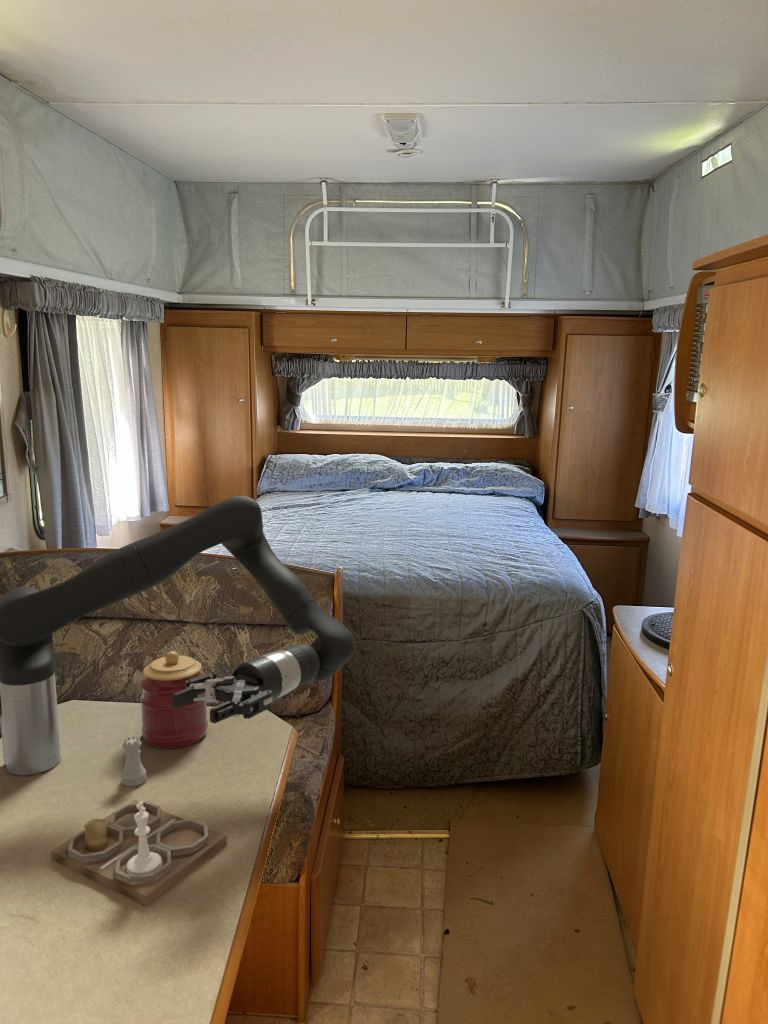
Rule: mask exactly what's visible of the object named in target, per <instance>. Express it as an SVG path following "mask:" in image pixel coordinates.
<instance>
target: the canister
mask: <svg viewBox="0 0 768 1024" xmlns="http://www.w3.org/2000/svg"><path fill="white" fill-rule="evenodd" d="M166 653H167V654H166V655H165V656H162V657H160V658H157V659H155V660H153V661H152V662H151V663H150V664H148V665H146V666H145V667H144V668H143V670H142V673H143V677H141V678H140V680H139V683H138V684H139V687H140V689H141V690H142V691H141V692H142V693H141V695H140V698H139V700H140V704H141V706H140V707H141V710H140V711H141V727H140V728H141V736H142V739H143V741H144V743H146V744H147V745H149V746H150V747H154V748H159V749H176V748H184V747H187V746H189V745H192V744H195V743H197V742H199V741H200V739H201V740H202V739H203V738H204V737H205V736H206V735H207V734H208V727H209V719H208V713H207V712H208V711H207V702H206V701H205V700H200V701H194V702H192V703H189V704H187V705H184V706H182V707H179V708H174V707H172V695H173V694H174V693H177V692H180V691H182V690H185V681H187V680H189V679H192V678H195V677H198V676H201V675H204V674H206V673H205V672H204V671H202V668H203V667H202V664H201V662H200V661H198V660H196V659H194V658H193V657H190V656H186V655H179V653H178V652H177V651H174V650H172V651H168V652H166ZM203 694H205V692H203V693H200V694H198V695H203Z"/></svg>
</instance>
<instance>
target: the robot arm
mask: <svg viewBox="0 0 768 1024" xmlns="http://www.w3.org/2000/svg"><path fill="white" fill-rule="evenodd" d="M262 512H263V511H262V509H261V507H260V504H259V503H258V502H257V501H256V499H253V498H251V497H250V496H245V495H236V496H231V497H228V498H225V499H223V500H221V501H219V502H217V503H215V504H214V505H212V506H210V507H208V508H207V509H204V510H203V511H201V512H199V513H197V514H195V515H194V516H192V517H190V518H188V519H186V520H184V521H182V522H179V523H177V524H174V525H172V526H170V527H167V528H165V529H162V530H160V531H158V532H155V533H154V534H151V535H149V536H147V537H144V538H142V539H139V540H136V541H134V542H131V543H129V544H126V545H124V546H121V547H119V548H117V549H115V550H112V551H111V552H109V553H106V554H105V555H103V556H102V557H100V558H98V559H97V560H96V561H94V562H92V563H90V564H89V565H88V566H86V567H85V568H84V569H83V570H80V571H79V572H78V573H77V574H75V575H73V576H72V577H69V578H68V579H66V580H64V581H62V582H60V583H57V584H55V585H53V586H52V585H51V586H50V587H47V588H44V589H41V590H38V589H37V588H34V587H30V586H18V587H15V588H12V589H10V590H9V591H7V592H5V593H4V594H3V595H2V596H1V597H0V704H1V705H0V706H1V715H0V732H1V744H2V745H1V746H2V756H3V757H2V758H3V764H4V765H5V767H6V771H7V772H8V773H9V774H11V775H14V776H30V775H36V774H41V773H43V772H46V771H49V770H51V769H53V768H54V767H56V766H57V765H58V764H59V763H60V761H61V759H62V757H61V743H60V729H59V715H58V714H59V712H58V710H59V709H58V701H57V700H58V698H57V686H56V671H55V653H54V652H55V649H54V639H53V634H54V633H55V632H57V631H59V630H60V629H62V628H64V627H65V626H67V625H70V624H71V623H73V622H75V621H76V620H79V619H80V618H82V617H84V616H86V615H89V614H91V613H94V612H97V611H101V610H103V609H105V608H107V607H110V606H112V605H114V604H117V603H120V602H121V601H124V600H126V599H128V598H131V597H133V596H136V595H138V594H141V593H143V592H145V591H147V590H150V589H152V588H154V587H156V586H158V585H160V584H162V583H164V582H165V581H167V580H168V579H169V578H171V577H172V576H173V575H174V574H176V573H177V572H178V571H179V570H181V569H182V568H183V567H184V566H185V565H186V564H188V563H189V561H191V560H192V559H193V558H195V557H197V555H199V554H201V553H202V552H204V551H206V550H209V549H211V548H213V547H216V546H218V545H222V546H223V547H224V548H225V549H226V550H227V551H228V552H229V554H231V555H232V556H233V557H234V558H235V559H236V560H237V561H238V562H239V563H240V564H241V565H242V566H243V567H244V568H245V569H246V570H247V571H248V572H249V574H250V575H251V576H252V577H253V578H254V580H255V581H256V582H257V584H258V585H259V586H260V588H261V589H262V590H263V592H264V593H265V595H266V596H267V598H268V599H269V601H270V602H271V604H272V605H273V606H274V608H275V609H276V610H277V612H278V613H279V615H280V616H281V618H282V619H283V621H284V622H285V624H286V625H287V626H288V628H289V629H290V631H292V633H294V634H295V635H305V634H307V633H308V632H310V631H312V632H314V634H316V635H317V637H315V640H314V641H312V643H311V644H310V645H308V644H305V643H298V644H293V645H291V646H289V647H286V648H283V649H281V650H280V649H279V650H275V651H271V652H268V653H266V654H262V655H261V656H258V657H255V658H252V659H249V660H247V661H245V662H242V663H239V665H238V666H237V667H236V668H235V669H234V670H233V672H232V674H231V675H227V676H223V677H221V678H219V677H218V676H217V675H218V673H217V672H216V671H212V672H211V671H210V672H208V673H205V674H204V675H201V676H198V677H195V678H192V679H189V680H187V681H185V690H182V691H180V692H177V693H174V694H173V695H172V707H174V708H179V707H182V706H184V705H187V704H189V703H192V702H194V701H200V700H205V701H206V704H207V703H219V702H221V703H220V704H218V705H215V706H214V707H211V708H210V709H209V722H210V723H213V724H217V723H220V722H221V721H223V720H227V719H228V718H231V717H233V718H239V717H240V715H241V716H242V717H243V719H245V720H246V719H247V720H248V719H251V718H254V717H255V716H257V715H259V714H261V713H263V712H265V711H267V710H268V709H270V708H272V707H273V701H274V700H276V699H278V698H279V699H280V698H281V697H283V696H285V695H288V694H289V693H291V691H293V690H295V689H297V688H299V687H301V686H303V685H304V686H305V684H308V683H317V682H322V681H325V680H327V679H329V678H331V677H333V676H334V675H335V674H337V672H339V670H340V669H341V668H342V667H343V666H344V665H345V664H346V663H347V662H348V661H349V660H350V659H351V658H352V656H354V654H355V652H356V648H357V647H356V641H355V638H354V636H353V633H352V632H351V631H350V629H348V627H346V626H345V625H344V624H343V623H341V622H340V621H339V620H338V619H337V618H335V617H334V616H333V615H331V614H330V613H329V612H328V611H326V610H325V609H324V608H323V607H322V606H321V605H320V604H319V603H318V601H317V600H316V598H315V597H314V595H313V594H312V593H311V591H310V590H309V589H308V588H307V586H306V585H305V584H304V583H303V581H301V580H302V579H300V578H299V577H298V576H297V575H296V574H295V573H294V572H292V570H290V569H289V568H288V567H287V566H286V565H284V563H283V561H281V560H280V559H279V558H278V556H277V554H275V553H274V551H273V549H272V548H271V546H270V544H269V541H268V539H267V537H266V536H265V534H264V531H263V530H264V525H263V514H262ZM211 691H214V695H211ZM203 692H205V694H203V695H198V694H200V693H203Z"/></svg>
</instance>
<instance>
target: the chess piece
mask: <svg viewBox="0 0 768 1024" xmlns="http://www.w3.org/2000/svg"><path fill="white" fill-rule="evenodd" d="M143 802H144V801H142V800H141V801H139V804H137V805H136V808H137V809H139V812H138V813H136V814H135V816H134V819H135V821H136V823H137V826H138V828H136V829H135V832H134V833H135V835H137V836H139V845H138V854H137V855H135V856H133V857H132V858H131V859H130V860H129V861H128V863H127V868H126V872H127V873H128V875H130V876H132V877H133V876H139V875H146V874H152V873H154V872H155V871H157V870H158V869H160V868H161V866H162V859H161V856H160V855H159V854H157V853H154V852H149V847H148V842H147V836H146V834H148V833H149V832H150V828H149V827H148V826H146V824H147V820H148V817H149V813H148V812H146V808H145V807H143Z"/></svg>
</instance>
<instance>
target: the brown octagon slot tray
mask: <svg viewBox="0 0 768 1024" xmlns="http://www.w3.org/2000/svg"><path fill="white" fill-rule="evenodd" d="M139 802H140V801H139V800H135V799H134V800H132V801H131V802H128V803H127V804H124V805H123V806H122V807H120V808H118V809H116V810H115V811H113V812H112V813H110V814H108V815H107V816H105V817H104V818H94V819H91V820H88V821H87V822H86V823H85V824H84V829H83V830H81V831H80V832H78V833H76V834H74V835H73V836H71V837H70V838H69V839H68V840H65V841H63V842H62V843H60V844H59V845H57V846H55V847H54V848H52V849H50V850H49V851H50V861H53V862H55V863H57V864H59V865H61V866H63V867H65V868H67V869H69V870H71V871H73V872H76V873H78V874H80V875H82V876H84V877H86V878H88V879H90V880H92V881H94V882H96V883H99V884H100V885H103V886H105V887H106V888H109V889H110V890H113V891H114V892H118V893H119V894H120V895H123V896H125V897H127V898H129V899H131V900H133V901H135V902H137V903H140V904H142V905H144V906H146V907H147V906H149V905H150V904H151V903H153V902H154V901H156V899H158V898H160V897H161V896H162V895H163V894H165V893H166V892H167V891H168V890H170V889H172V887H173V886H175V885H176V884H177V883H179V882H180V881H181V880H182V879H184V878H185V877H186V876H187V875H189V874H190V873H192V872H193V871H194V870H195V869H197V868H198V867H199V866H200V865H202V864H204V863H205V862H206V861H208V859H210V858H211V857H212V856H214V855H215V854H216V853H218V852H219V851H220V850H222V849H223V848H225V846H226V845H227V844H228V843H227V842H228V841H227V837H228V835H227V834H224V833H221V832H218V831H216V830H213V829H212V828H211V829H210V828H208V824H207V823H204V822H202V821H200V820H197V819H194V818H190V819H185V818H183V817H180V816H178V815H175V814H173V813H170V812H167V811H164V810H162V807H161V805H158V804H155V803H152V802H150V801H142V802H143V807H145V808H146V812H148V813H149V817H148V820H147V824H146V826H148V827H149V828H150V832H149V833H148V834H146V836H147V842H148V847H149V852H154V853H157V854H159V855H160V856H161V859H162V866H161V868H160V869H158V870H157V871H155V872H154V873H152V874H146V875H139V876H133V877H132V876H130V875H128V873H127V872H126V868H127V863H128V861H129V860H130V859H131V858H132V857H133V856H135V855H137V854H138V845H139V836H137V835H135V833H134V832H135V829H136V828H138V826H137V823H136V821H135V819H134V816H135V814H136V813H138V812H139V809H137V808H136V805H137V804H139Z"/></svg>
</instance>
